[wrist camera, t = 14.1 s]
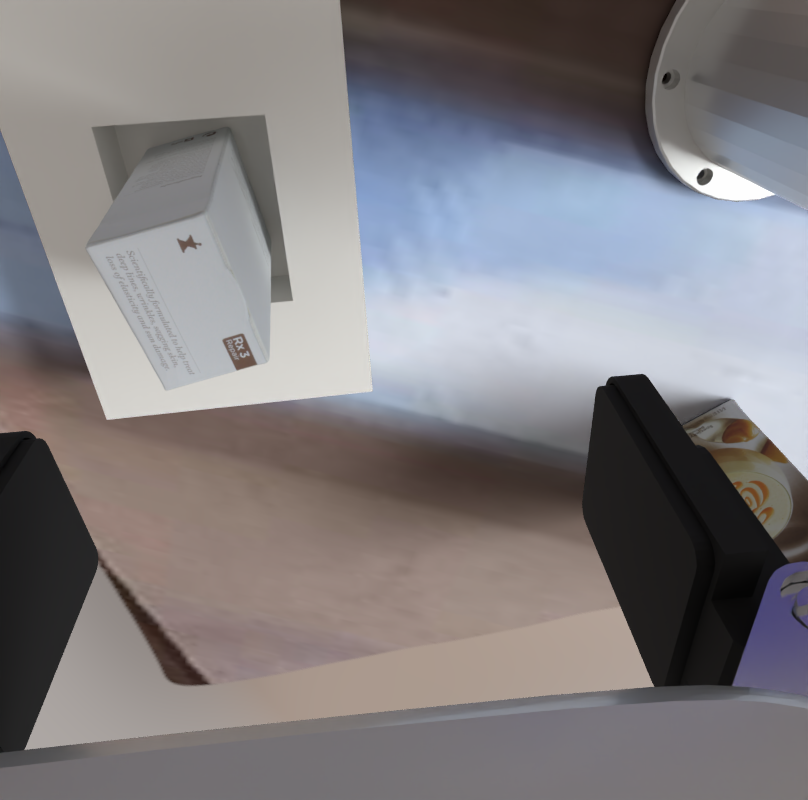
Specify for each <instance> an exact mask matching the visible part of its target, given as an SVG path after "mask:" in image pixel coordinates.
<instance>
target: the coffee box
mask: <svg viewBox="0 0 808 800" xmlns="http://www.w3.org/2000/svg"><path fill="white" fill-rule="evenodd" d="M682 427H683V428H684V430H685V431H686V433H687V434H688V435H689V437H690V438H691V440H692V441H693V442H694V444H695V445H701V446H703V447H705V448H706V449H707V450H708V451H709V452H710V453H711V455H712V456H713V457H714V459H715V460H716V461H717V463H718V464H719V466H720V467H721V468H722V470H723V471H724V473H725V474H726V475H727V477H728V478H729V479H730V481H731V482H732V484H733V485H734V486H735V488H736V489H737V490H738V492H739V493H740V495H741V496H742V497H743V499H744V500H745V502H746V503H747V504H748V506H749V507H750V508H751V510H752V511H753V513H754V514H755V515H756V517H757V518H758V520H759V521H760V522H761V524H762V525H763V526H764V528H765V529H766V531H767V532H768V533H769V535H770V536H771V538H772V539H773V540H774V542H775V543H776V544H777V546H778V547H779V549H780V550H781V551H782V553H783V554H784V555H785V557H786V558H787V560H788V561H789V562H790V564H791V563H796V562H808V480H807V479H806V478H805V477H804V476H803V475H802V474H801V473H800V472H799V471H798V469H797V468H796V467H795V466H794V465H793V464H792V463H791V462H790V461H789V460H788V459H787V458H786V457H785V455H784V454H783V453H782V452H781V451H780V450H779V449H778V448H777V447H776V446H775V445H774V444H773V442H772V441H771V440H770V439H769V438H768V437H767V436H766V435H765V434H764V433H763V432H762V431H761V430H760V429H759V428H758V427H757V426H756V425H755V424H754V423H753V422H752V421H751V420H750V419H749V417H748V416H747V415H746V414H745V413H744V412H743V411H742V410H741V408H740V407H739V406H738V404H737V403H736V402H735V400H729V401H727V402H725V403H723V404H722V405H720V406H718V407H716V408H714V409H712V410H710V411H709V412H707V413H705V414H703V415H701V416H699V417H697V418H695V419H694V420H692V421H690V422H688V423H686V424H684V425H683V426H682Z"/></svg>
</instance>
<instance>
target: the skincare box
mask: <svg viewBox="0 0 808 800" xmlns="http://www.w3.org/2000/svg"><path fill="white" fill-rule="evenodd" d="M85 249H86V251H87V253H88V255H89V256H90V258H91V260H92V262H93V263H94V265H95V267H96V269H97V270H98V272H99V274H100V275H101V277H102V279H103V281H104V282H105V284H106V286H107V288H108V289H109V291H110V293H111V295H112V297H113V298H114V300H115V302H116V304H117V305H118V307H119V309H120V311H121V312H122V314H123V316H124V318H125V319H126V321H127V323H128V325H129V326H130V328H131V330H132V332H133V333H134V335H135V337H136V339H137V340H138V342H139V344H140V346H141V347H142V349H143V351H144V353H145V354H146V356H147V358H148V360H149V362H150V363H151V365H152V367H153V369H154V371H155V372H156V374H157V376H158V378H159V379H160V381H161V383H162V385H163V387H164V389H165V390H167V391H168V390H172V389H175V388H178V387H182V386H185V385H189V384H192V383H196V382H199V381H203V380H206V379H210V378H213V377H217V376H221V375H224V374H228V373H231V372H235V371H238V370H242V369H246V368H249V367H253V366H256V365H260V364H265V363H267V362H268V361H269V357H270V313H271V238H270V235H269V233H268V230H267V227H266V224H265V222H264V219H263V216H262V213H261V211H260V208H259V205H258V202H257V200H256V197H255V194H254V191H253V189H252V186H251V183H250V180H249V178H248V175H247V172H246V169H245V167H244V164H243V161H242V158H241V156H240V153H239V150H238V147H237V145H236V142H235V139H234V136H233V134H232V131H231V129H230V128H229V127H223V128H219V129H216V130H212V131H208V132H205V133H201V134H197V135H194V136H190V137H187V138H183V139H179V140H176V141H172V142H169V143H165V144H162V145H159V146H155V147H152V148H149V149H148V150H147V151H146V152H145V154H144V156H143V157H142V159H141V160H140V162H139V163H138V165H137V166H136V168H135V169H134V171H133V173H132V174H131V176H130V177H129V179H128V180H127V182H126V183H125V185H124V187H123V188H122V190H121V191H120V193H119V194H118V196H117V198H116V199H115V200H114V202H113V204H112V205H111V207H110V208H109V210H108V212H107V213H106V215H105V216H104V218H103V219H102V221H101V223H100V225H99V226H98V228H97V229H96V230H95V232H94V233H93V235H92V236H91V238H90V239H89V241H88V243H87V244H86V247H85Z"/></svg>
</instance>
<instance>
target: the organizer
mask: <svg viewBox="0 0 808 800" xmlns="http://www.w3.org/2000/svg"><path fill="white" fill-rule="evenodd" d="M223 127H229V128H230V129H231V131H232V134H233V136H234V139H235V142H236V145H237V147H238V150H239V153H240V156H241V158H242V161H243V164H244V167H245V169H246V172H247V175H248V178H249V180H250V183H251V186H252V189H253V191H254V194H255V197H256V200H257V202H258V205H259V208H260V211H261V213H262V216H263V219H264V222H265V224H266V227H267V230H268V233H269V235H270V238H271V313H270V357H269V361H268V362H267V363H265V364H260V365H256V366H253V367H249V368H246V369H242V370H238V371H235V372H231V373H228V374H224V375H221V376H217V377H213V378H210V379H206V380H203V381H199V382H196V383H192V384H189V385H185V386H182V387H178V388H175V389H172V390H168V391H167V390H165V389H164V387H163V385H162V383H161V381H160V379H159V378H158V376H157V374H156V372H155V371H154V369H153V367H152V365H151V363H150V362H149V360H148V358H147V356H146V354H145V353H144V351H143V349H142V347H141V346H140V344H139V342H138V340H137V339H136V337H135V335H134V333H133V332H132V330H131V328H130V326H129V325H128V323H127V321H126V319H125V318H124V316H123V314H122V312H121V311H120V309H119V307H118V305H117V304H116V302H115V300H114V298H113V297H112V295H111V293H110V291H109V289H108V288H107V286H106V284H105V282H104V281H103V279H102V277H101V275H100V274H99V272H98V270H97V269H96V267H95V265H94V263H93V262H92V260H91V258H90V256H89V255H88V253H87V251H86V249H85V247H86V244H87V243H88V241H89V239H90V238H91V236H92V235H93V233H94V232H95V230H96V229H97V228H98V226H99V225H100V223H101V221H102V219H103V218H104V216H105V215H106V213H107V212H108V210H109V208H110V207H111V205H112V204H113V202H114V200H115V199H116V198H117V196H118V194H119V193H120V191H121V190H122V188H123V187H124V185H125V183H126V182H127V180H128V179H129V177H130V176H131V174H132V173H133V171H134V169H135V168H136V166H137V165H138V163H139V162H140V160H141V159H142V157H143V156H144V154H145V152H146V151H147V150H148V149H149V148H152V147H155V146H159V145H162V144H165V143H169V142H172V141H176V140H179V139H183V138H187V137H190V136H194V135H197V134H201V133H205V132H208V131H212V130H216V129H219V128H223ZM0 130H1V133H2V135H3V138H4V141H5V144H6V146H7V149H8V152H9V154H10V157H11V160H12V163H13V165H14V168H15V171H16V173H17V176H18V179H19V182H20V184H21V187H22V190H23V193H24V195H25V198H26V201H27V203H28V206H29V209H30V212H31V214H32V217H33V220H34V223H35V225H36V228H37V231H38V233H39V236H40V239H41V242H42V244H43V247H44V250H45V252H46V255H47V258H48V261H49V263H50V266H51V269H52V272H53V274H54V277H55V280H56V282H57V285H58V288H59V291H60V293H61V296H62V299H63V301H64V304H65V307H66V310H67V312H68V315H69V318H70V321H71V323H72V326H73V329H74V331H75V334H76V337H77V340H78V342H79V345H80V348H81V350H82V353H83V356H84V359H85V361H86V364H87V367H88V370H89V372H90V375H91V378H92V380H93V383H94V386H95V389H96V391H97V394H98V397H99V400H100V402H101V405H102V408H103V410H104V413H105V416H106V419H107V420H109V419H118V418H127V417H137V416H146V415H155V414H165V413H174V412H184V411H193V410H202V409H212V408H221V407H231V406H240V405H249V404H259V403H268V402H278V401H287V400H296V399H306V398H315V397H325V396H334V395H343V394H353V393H362V392H372V391H373V390H372V378H371V366H370V354H369V342H368V330H367V318H366V307H365V295H364V283H363V271H362V259H361V247H360V235H359V223H358V211H357V199H356V188H355V176H354V164H353V152H352V140H351V128H350V116H349V104H348V92H347V80H346V69H345V57H344V45H343V33H342V21H341V9H340V0H0Z"/></svg>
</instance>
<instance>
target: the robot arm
mask: <svg viewBox="0 0 808 800" xmlns="http://www.w3.org/2000/svg"><path fill="white" fill-rule="evenodd" d="M666 73H667V78H666V80H665V81H664V82H662V79H663V76H664V75H665V74H666ZM645 112H646V118H647V124H648V130H649V135H650V138H651V140H652V143H653V145H654V148H655V151H656V153H657V155H658V157H659V158H660V159H661V161H662V162H663V164H664V165H665V167H666V168H667V170H668V171H669V172H670V173H671V174H672V175H674V176H675V177H676V178H677V179H678V180H679V181H680V182H681V183H683V184H684V185H686V186H687V187H689V188H691V189H692V190H694V191H696V192H698V193H700V194H703V195H706V196H708V197H711V198H714V199H717V200H726V201H734V202H739V201H751V200H759V199H762V198H766V197H770V196H773V195H777V196H779V197H781V198H783V199H785V200H787V201H789V202H791V203H793V204H795V205H797V206H799V207H801V208H803V209H805V210H807V211H808V0H676V2H675V4H674V5H673V7H672V9H671V11H670V13H669V15H668V17H667V19H666V21H665V23H664V25H663V26H662V28H661V31H660V34H659V36H658V39H657V42H656V45H655V48H654V51H653V53H652V56H651V61H650V66H649V71H648V76H647V81H646V101H645ZM699 172H700V173H699ZM698 173H699V175H698ZM697 175H698V176H697ZM582 508H583V515H584V519H585V522H586V525H587V527H588V530H589V532H590V535H591V537H592V539H593V542H594V544H595V546H596V549H597V551H598V554H599V556H600V558H601V561H602V563H603V566H604V568H605V570H606V573H607V575H608V578H609V580H610V582H611V585H612V587H613V590H614V592H615V594H616V597H617V599H618V602H619V604H620V606H621V609H622V611H623V613H624V616H625V618H626V621H627V623H628V626H629V628H630V630H631V633H632V635H633V637H634V640H635V642H636V645H637V647H638V649H639V652H640V654H641V657H642V659H643V661H644V664H645V666H646V669H647V671H648V673H649V676H650V678H651V681H652V683H653V684H654V687H647V688H634V689H622V690H610V691H597V692H586V693H573V694H561V695H549V696H539V697H528V698H519V699H508V700H498V701H488V702H478V703H468V704H457V705H447V706H437V707H427V708H417V709H407V710H397V711H388V712H378V713H367V714H358V715H349V716H338V717H329V718H319V719H309V720H300V721H291V722H281V723H271V724H261V725H252V726H242V727H233V728H223V729H214V730H205V731H195V732H186V733H177V734H167V735H158V736H149V737H139V738H130V739H121V740H113V741H103V742H94V743H85V744H76V745H66V746H58V747H49V748H40V749H30V750H24V749H25V747H26V745H27V742H28V740H29V737H30V735H31V732H32V730H33V727H34V725H35V722H36V720H37V717H38V714H39V712H40V710H41V707H42V705H43V702H44V700H45V697H46V695H47V692H48V690H49V687H50V685H51V682H52V680H53V677H54V675H55V672H56V670H57V668H58V665H59V662H60V660H61V657H62V655H63V652H64V650H65V648H66V645H67V643H68V640H69V637H70V635H71V633H72V630H73V628H74V625H75V622H76V620H77V617H78V615H79V613H80V610H81V608H82V605H83V603H84V600H85V598H86V595H87V593H88V590H89V587H90V585H91V583H92V580H93V578H94V575H95V573H96V570H97V566H98V553H97V549H96V547H95V545H94V542H93V540H92V538H91V536H90V534H89V532H88V530H87V528H86V525H85V523H84V521H83V519H82V517H81V515H80V513H79V511H78V508H77V506H76V504H75V502H74V500H73V498H72V496H71V494H70V491H69V489H68V487H67V485H66V483H65V481H64V479H63V477H62V474H61V472H60V470H59V468H58V466H57V464H56V462H55V460H54V458H53V455H52V453H51V451H50V449H49V447H48V445H47V443H46V442H45V441H44V440H43V439H40V438H38V439H36V437H35V436H34V435H33V434H32V433H31V432H28V431H21V432H10V433H0V800H808V562H796V563H791V564H790V562H789V561H788V560H787V558H786V557H785V555H784V554H783V553H782V551H781V550H780V549H779V547H778V546H777V544H776V543H775V542H774V540H773V539H772V538H771V536H770V535H769V533H768V532H767V531H766V529H765V528H764V526H763V525H762V524H761V522H760V521H759V520H758V518H757V517H756V515H755V514H754V513H753V511H752V510H751V508H750V507H749V506H748V504H747V503H746V502H745V500H744V499H743V497H742V496H741V495H740V493H739V492H738V490H737V489H736V488H735V486H734V485H733V484H732V482H731V481H730V479H729V478H728V477H727V475H726V474H725V473H724V471H723V470H722V468H721V467H720V466H719V464H718V463H717V461H716V460H715V459H714V457H713V456H712V455H711V453H710V452H709V451H708V450H707V449H706V448H705V447H703V446H701V445H695V444H694V442H693V441H692V440H691V438H690V437H689V435H688V434H687V433H686V431H685V430H684V428H683V427H682V425H681V424H680V423H679V421H678V420H677V418H676V417H675V416H674V414H673V413H672V411H671V410H670V408H669V407H668V406H667V404H666V403H665V401H664V400H663V398H662V397H661V396H660V394H659V393H658V391H657V390H656V389H655V387H654V386H653V384H652V383H651V381H650V380H649V379H648V377H647V376H646V375H644V374H637V375H626V376H615V377H610V378H609V379H608V381H607V383H606V386H599V387H598V388H597V391H596V396H595V404H594V412H593V420H592V428H591V436H590V444H589V452H588V460H587V468H586V476H585V484H584V492H583V501H582Z"/></svg>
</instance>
